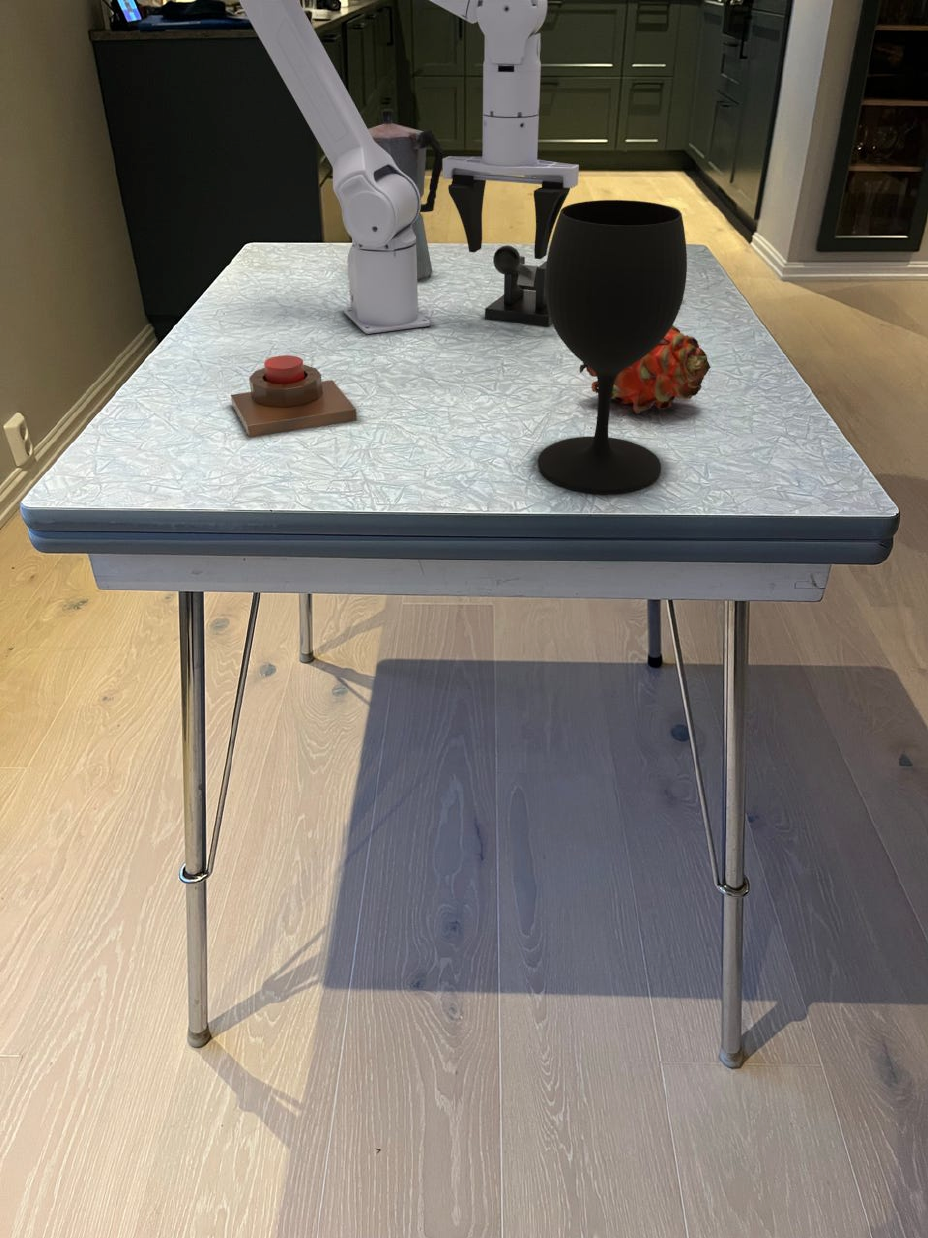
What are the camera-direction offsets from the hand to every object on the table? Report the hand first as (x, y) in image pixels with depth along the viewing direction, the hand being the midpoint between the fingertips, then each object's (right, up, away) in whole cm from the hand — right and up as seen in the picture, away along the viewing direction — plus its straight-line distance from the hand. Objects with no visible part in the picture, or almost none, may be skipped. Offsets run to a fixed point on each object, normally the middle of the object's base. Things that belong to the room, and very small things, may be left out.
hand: (507, 253), depth 104 cm
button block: (-21, -21, -15) cm, 33 cm away
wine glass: (+6, -27, -24) cm, 37 cm away
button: (-22, -18, -15) cm, 32 cm away
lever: (+1, -2, +5) cm, 5 cm away
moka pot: (-13, +6, +24) cm, 28 cm away
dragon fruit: (+12, -20, -14) cm, 27 cm away
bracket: (+3, -3, +11) cm, 12 cm away
